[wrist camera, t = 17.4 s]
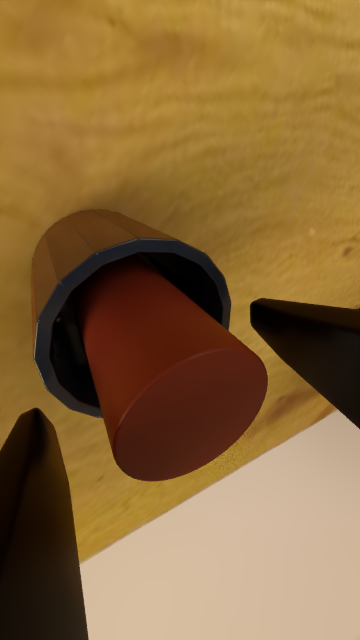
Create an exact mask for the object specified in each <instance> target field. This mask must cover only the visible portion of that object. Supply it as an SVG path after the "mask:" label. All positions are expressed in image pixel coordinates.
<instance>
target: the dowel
mask: <svg viewBox="0 0 360 640" xmlns="http://www.w3.org/2000/svg"><path fill="white" fill-rule="evenodd" d="M70 294H71V298H72V302H73V305H74V309H75V313H76V317H77V320H78V324H79V328H80V332H81V336H82V339H83V343H84V347H85V351H86V355H87V358H88V362H89V366H90V370H91V373H92V377H93V381H94V385H95V389H96V392H97V396H98V400H99V404H100V408H101V411H102V415H103V419H104V423H105V426H106V430H107V434H108V438H109V442H110V445H111V449H112V453H113V457H114V459H115V461H116V464H117V465H118V466H119V468H120V469H121V470H122V471H123V472H124V473H125V474H127V475H128V476H130V477H132V478H134V479H138V480H141V481H163V480H168V479H173V478H176V477H179V476H182V475H185V474H187V473H190V472H192V471H194V470H196V469H198V468H200V467H202V466H204V465H206V464H207V463H209V462H210V461H212V460H214V459H215V458H216V457H218V456H219V455H221V454H222V453H223V452H224V451H226V450H227V449H228V448H229V447H230V446H231V445H233V444H234V443H235V442H236V441H237V440H238V439H239V438H240V437H241V435H242V434H243V433H244V432H245V431H246V430H247V428H248V427H249V426H250V425H251V423H252V422H253V420H254V419H255V417H256V415H257V414H258V412H259V410H260V408H261V406H262V404H263V401H264V399H265V395H266V391H267V385H268V377H267V371H266V369H265V366H264V364H263V362H262V360H261V359H260V358H259V357H258V356H257V355H256V354H255V353H254V352H253V351H252V350H250V349H249V348H248V347H247V346H246V345H244V344H243V343H242V342H241V341H240V340H238V339H237V338H236V337H235V336H234V335H233V334H231V333H230V332H229V331H228V330H227V329H225V328H224V327H223V326H222V325H221V324H219V323H218V322H217V321H216V320H215V319H213V318H212V317H211V316H210V315H209V314H207V313H206V312H205V311H204V310H203V309H201V308H200V307H199V306H198V305H197V304H195V303H194V302H193V301H192V300H191V299H190V298H188V297H187V296H186V295H185V294H184V293H182V292H181V291H180V290H179V289H178V288H176V287H175V286H174V285H173V284H172V283H170V282H169V281H168V280H167V279H166V278H164V277H163V276H162V275H161V274H160V273H158V272H157V271H156V270H155V269H154V268H152V267H151V266H150V265H149V264H148V263H147V262H145V261H144V260H143V259H142V258H141V257H139V256H138V255H137V254H136V253H135V254H132V255H130V256H127V257H124V258H121V259H118V260H116V261H113V262H110V263H107V264H104V265H103V266H101V267H100V268H99V269H98V270H96V271H95V272H94V273H93V274H92V275H90V276H89V277H88V278H87V279H85V280H84V281H83V282H82V283H80V284H79V285H78V286H77V287H76V288H74V289H73V290H72V291H71V293H70Z"/></svg>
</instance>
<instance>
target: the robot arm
mask: <svg viewBox="0 0 360 640" xmlns="http://www.w3.org/2000/svg"><path fill="white" fill-rule="evenodd" d="M250 322H251V325H252V327H253V328H254V330H255V331H256V332H257V333H258V334H259V335H260V336H261V337H262V338H263V339H264V341H265V342H266V343H267V344H268V345H269V346H270V347H271V348H272V349H273V350H274V352H275V353H276V354H277V355H278V356H279V357H280V358H281V359H282V360H283V361H284V362H285V363H287V364H288V365H289V366H290V367H291V368H292V369H293V370H294V371H296V372H297V373H298V374H299V375H300V376H301V377H302V378H303V379H304V380H306V381H307V382H308V383H309V384H310V385H311V386H312V387H313V388H315V389H316V390H317V391H318V392H319V393H320V394H321V395H322V396H323V397H325V398H326V399H327V400H328V401H329V402H330V403H331V404H332V405H333V406H335V407H336V408H337V409H338V410H339V411H340V412H341V413H343V414H344V415H345V416H346V417H347V418H348V419H349V420H350V421H352V423H354V424H355V425H356V426H357V427H358V428H359V429H360V309H359V310H357V309H349V308H341V307H332V306H324V305H316V304H307V303H299V302H291V301H283V300H274V299H266V298H260V299H257V300H255V301H253V302H252V303H251V305H250ZM0 640H88V631H87V623H86V615H85V607H84V599H83V592H82V583H81V575H80V567H79V558H78V550H77V542H76V534H75V526H74V518H73V510H72V502H71V494H70V488H69V482H68V478H67V473H66V469H65V465H64V462H63V458H62V454H61V450H60V446H59V442H58V438H57V434H56V431H55V428H54V426H53V424H52V423H51V422H50V421H49V419H48V418H47V417H46V416H45V415H44V413H43V412H42V411H41V410H40V409H39V408H33V409H31V410H29V411H27V412H25V413H23V414H21V415H20V416H19V418H18V420H17V421H16V423H15V425H14V427H13V429H12V430H11V432H10V434H9V436H8V438H7V439H6V441H5V443H4V445H3V447H2V448H1V450H0Z"/></svg>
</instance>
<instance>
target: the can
mask: <svg viewBox="0 0 360 640" xmlns="http://www.w3.org/2000/svg"><path fill="white" fill-rule="evenodd" d="M135 253H136V254H137V255H138V256H139V257H141V258H142V259H143V260H144V261H145V262H147V263H148V264H149V265H150V266H151V267H152V268H154V269H155V270H156V271H157V272H158V273H160V274H161V275H162V276H163V277H164V278H166V279H167V280H168V281H169V282H170V283H172V284H173V285H174V286H175V287H176V288H178V289H179V290H180V291H181V292H182V293H184V294H185V295H186V296H187V297H188V298H190V299H191V300H192V301H193V302H194V303H195V304H197V305H198V306H199V307H200V308H201V309H203V310H204V311H205V312H206V313H207V314H209V315H210V316H211V317H212V318H213V319H215V320H216V321H217V322H218V323H219V324H221V325H222V326H223V327H224V328H225V329H227V330H229V322H230V311H231V300H230V296H229V292H228V288H227V285H226V281H225V277H224V275H223V274H222V273H221V272H220V270H219V269H218V268H217V267H216V265H215V264H214V263H213V261H212V260H211V259H210V258H209V256H208V255H207V254H205V253H204V252H202V251H200V250H198V249H196V248H194V247H192V246H190V245H188V244H186V243H184V242H182V241H180V240H178V239H176V238H173V237H171V236H169V235H167V234H165V233H162V232H160V231H158V230H156V229H154V228H151V227H149V226H147V225H145V224H143V223H140V222H138V221H136V220H134V219H132V218H129V217H127V216H125V215H123V214H121V213H118V212H112V211H108V210H100V209H98V210H85V211H80V212H76V213H73V214H70V215H68V216H66V217H64V218H62V219H61V220H59V221H58V222H56V223H55V224H54V225H53V226H51V227H50V228H49V229H48V230H47V231H46V233H45V234H44V235H43V236H42V238H41V239H40V241H39V243H38V245H37V247H36V249H35V252H34V255H33V258H32V269H31V304H32V335H33V358H34V362H35V364H36V367H37V369H38V371H39V374H40V376H41V379H42V381H43V383H44V386H45V388H46V389H47V391H49V392H50V393H51V394H52V395H53V396H55V397H56V398H57V399H58V400H59V401H61V402H62V403H63V404H64V405H65V406H67V407H68V408H69V409H71V410H74V411H77V412H80V413H84V414H87V415H90V416H94V417H97V418H103V415H102V411H101V408H100V404H99V400H98V396H97V392H96V389H95V385H94V381H93V377H92V373H91V370H90V366H89V362H88V358H87V355H86V351H85V347H84V343H83V339H82V336H81V332H80V328H79V324H78V320H77V317H76V313H75V309H74V305H73V302H72V298H71V294H70V293H71V291H72V290H73V289H74V288H76V287H77V286H78V285H79V284H80V283H82V282H83V281H84V280H85V279H87V278H88V277H89V276H90V275H92V274H93V273H94V272H95V271H96V270H98V269H99V268H100V267H101V266H103V265H104V264H107V263H110V262H113V261H116V260H118V259H121V258H124V257H127V256H130V255H132V254H135Z"/></svg>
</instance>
